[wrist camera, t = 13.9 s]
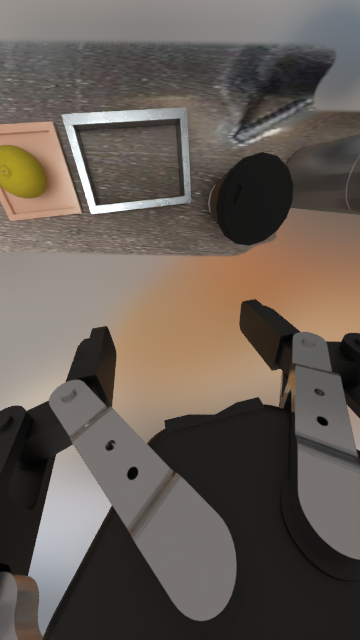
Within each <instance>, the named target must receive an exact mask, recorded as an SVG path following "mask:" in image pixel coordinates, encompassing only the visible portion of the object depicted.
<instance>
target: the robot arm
mask: <svg viewBox="0 0 360 640" xmlns="http://www.w3.org/2000/svg"><path fill="white" fill-rule="evenodd" d="M286 166H287V167H288V169H289V171H290V174H291V178H292V181H293V184H294V186H293V200H292V204H291V208H299V209H308V210H317V211H327V212H337V213H347V214H357V215H360V134H358V135H354V136H350V137H346V138H342V139H338V140H334V141H330V142H326V143H321V144H317V145H314V146H310V147H306V148H303V149H301V150H299V151H298V152H296V153H295V154H294V155H293V156H292V157H291V158H290V159H289V161H288V162H287V163H286ZM239 324H240V329H241V331H242V333H243V334H244V335H245V337H246V338H247V339H248V341H249V342H250V343H251V344H252V346H253V347H254V348H255V350H256V351H257V352H258V353H259V355H260V356H261V357H262V358H263V360H264V361H265V362H266V364H267V365H268V366H269V367H270V368H271V370H277V369H281V370H282V371H283V372H282V376H281V388H280V402H279V407H276V406H272V405H263V404H262V402H261V400H260V399H259V397H258V398H254V399H249V400H245V401H242V402H237V403H235V404H233V405H232V406H230V407H228V408H226V409H225V410H223V411H221V412H219V413H218V414H215V415H185V416H181V417H177V418H173V419H169V420H165V429H163V430H162V431H160V432H159V433H157V434H156V435H155V436H154V437H153V438H152V439H150V441H149V442H148V443H147V444H146V443H145V442H144V440H142V438H141V437H140V436H138V434H137V433H136V432H135V431H134V430H133V429H132V428H131V427H130V426H129V425H128V424H127V423H126V422H125V421H124V420H123V419H122V418H121V417H120V415H118V413H117V412H116V411H115V410H114V409H113V408H112V399H113V389H114V377H115V367H116V349H115V346H114V343H113V340H112V337H111V335H110V332H109V329H108V328H107V326H105V327H99V328H93V329H92V331H91V335H90V338H88V339H84V340H83V341H82V342H81V343H80V345H79V346H78V348H77V351H76V355H75V356H74V361H73V362H72V365H71V368H70V371H69V374H68V377H67V380H66V382H65V383H64V384H62V385H60V386H59V387H58V388H57V389H55V390H54V392H53V393H52V394H51V396H50V399H49V401H47V402H45V403H43V404H41V405H38V406H36V407H34V408H32V409H30V410H28V411H26V410H25V409H24V408H23V407H22V406H11V407H8V408H5V409H3V410H1V411H0V640H360V451H359V450H357V449H356V446H355V441H354V437H353V432H352V428H351V423H350V418H349V414H348V409H347V405H348V406H349V407H350V408H351V409H352V410H353V412H354V413H355V414H356V415H357V416H358V417H359V418H360V334H359V333H348V334H346V335H345V336H344V337H343V339H342V342H327V341H325V340H324V339H323V338H321V337H320V336H318V335H316V334H313V333H309V332H300V331H299V330H298V329H296V328H295V327H294V326H293V325H292V324H290V323H289V322H288V321H287V320H286V319H284V318H283V317H282V316H281V315H279V314H278V313H277V312H276V311H275V310H273V309H271V308H269V307H267V306H263V305H262V304H261V303H260V302H258V301H257V300H256V299H255V300H249V301H244V302H242V304H241V313H240V323H239ZM71 445H74V446H75V448H76V449H77V451H78V453H79V454H80V456H81V457H82V459H83V460H84V462H85V464H86V465H87V466H88V468H89V470H90V471H91V473H92V474H93V476H94V477H95V479H96V481H97V482H98V484H99V485H100V487H101V488H102V490H103V491H104V493H105V495H106V496H107V498H108V499H109V501H110V503H111V504H112V506H111V508H110V510H109V512H108V514H107V516H106V518H105V519H104V521H103V523H102V525H101V527H100V529H99V531H98V532H97V534H96V536H95V538H94V540H93V542H92V543H91V546H90V547H89V549H88V551H87V553H86V555H85V557H84V558H83V560H82V562H81V564H80V566H79V568H78V569H77V571H76V574H75V575H74V577H73V579H72V581H71V583H70V584H69V586H68V588H67V590H66V592H65V594H64V595H63V597H62V599H61V601H60V603H59V605H58V607H57V608H56V610H55V612H54V614H53V616H52V618H51V621H50V623H49V625H48V627H47V629H46V632H45V634H44V637H43V636H42V635H41V633H40V630H39V626H38V605H39V590H38V586H37V583H36V581H35V580H34V579H33V578H31V577H29V576H28V572H29V568H30V564H31V560H32V555H33V551H34V547H35V542H36V538H37V534H38V529H39V525H40V521H41V516H42V512H43V508H44V504H45V499H46V495H47V491H48V486H49V482H50V478H51V474H52V469H53V465H54V461H55V456H56V454H57V453H59V452H60V451H62V450H64V449H66V448H67V447H69V446H71Z"/></svg>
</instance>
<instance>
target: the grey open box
mask: <svg viewBox="0 0 360 640" xmlns="http://www.w3.org/2000/svg"><path fill="white" fill-rule="evenodd" d="M61 115H62V118H63V122H64V125H65V128H66V132H67V135H68V138H69V142H70V145H71V148H72V152H73V155H74V158H75V162H76V165H77V168H78V172H79V175H80V178H81V182H82V185H83V188H84V192H85V195H86V198H87V202H88V205H89V209H90V212H91V214H97V213H106V212H115V211H123V210H132V209H141V208H150V207H158V206H167V205H176V204H184V203H191V186H190V165H189V143H188V121H187V107H185V108H166V109H148V110H130V111H111V112H93V113H74V114H61ZM160 125H176V130H177V145H178V159H179V173H180V187H181V196H176V197H166V198H157V199H148V200H139V201H130V202H121V203H112V204H102V205H98V201H97V198H96V194H95V191H94V187H93V183H92V180H91V176H90V172H89V169H88V165H87V161H86V158H85V154H84V151H83V147H82V143H81V140H80V136H79V132H78V131H83V130H98V129H114V128H129V127H145V126H160Z"/></svg>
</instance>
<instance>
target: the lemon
mask: <svg viewBox="0 0 360 640" xmlns="http://www.w3.org/2000/svg"><path fill="white" fill-rule="evenodd" d="M0 186H1V187H2V188H3V189H4V190H6V191H7V192H9V193H11V194H13V195H15V196H17V197H21V198H25V199H31V198H36V197H39V196H40V195H42V194H43V193H44V191H45V190H46V186H47V177H46V173H45V171H44V169H43V167H42V165H41V164H40V162H39V161H38V160H37V159H36V158H35V157H34V156H33V155H32V154H30V153H29V152H27V151H26V150H24V149H22V148H20V147H17V146H13V145H1V146H0Z"/></svg>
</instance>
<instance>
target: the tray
mask: <svg viewBox="0 0 360 640" xmlns="http://www.w3.org/2000/svg"><path fill="white" fill-rule="evenodd" d="M1 145H13V146H17V147H20V148H22V149H24V150H26V151H27V152H29V153H30V154H32V155H33V156H34V157H35V158H36V159H37V160H38V161H39V162H40V164H41V165H42V167H43V169H44V171H45V173H46V177H47V186H46V190H45V191H44V193H43V194H42V195H40V196H39V197H36V198H31V199H25V198H21V197H17V196H15V195H13V194H11V193H9V192H7V191H6V190H4V189H3V188H2V187H1V186H0V201H1V203H2V205H3V207H4V209H5V211H6V213H7V215H8V217H9V219H10V221H15V220H24V219H33V218H42V217H51V216H59V215H68V214H77V213H83V210H82V207H81V204H80V200H79V197H78V194H77V191H76V188H75V185H74V182H73V178H72V175H71V172H70V169H69V166H68V163H67V160H66V156H65V153H64V150H63V147H62V144H61V141H60V138H59V134H58V131H57V128H56V125H55V123H53V122H36V123H18V124H1V125H0V146H1Z"/></svg>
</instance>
